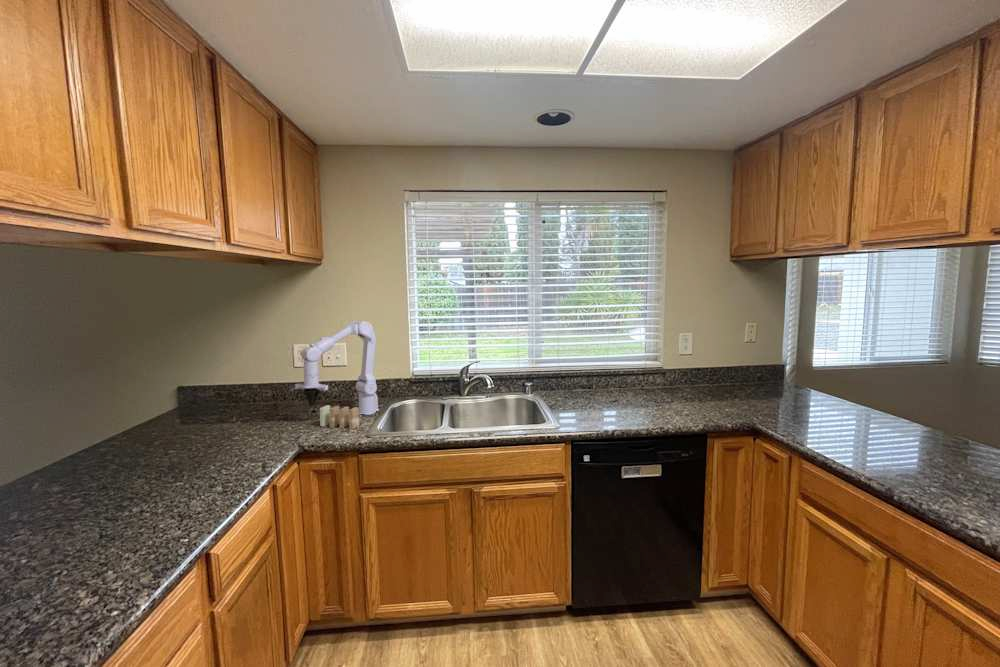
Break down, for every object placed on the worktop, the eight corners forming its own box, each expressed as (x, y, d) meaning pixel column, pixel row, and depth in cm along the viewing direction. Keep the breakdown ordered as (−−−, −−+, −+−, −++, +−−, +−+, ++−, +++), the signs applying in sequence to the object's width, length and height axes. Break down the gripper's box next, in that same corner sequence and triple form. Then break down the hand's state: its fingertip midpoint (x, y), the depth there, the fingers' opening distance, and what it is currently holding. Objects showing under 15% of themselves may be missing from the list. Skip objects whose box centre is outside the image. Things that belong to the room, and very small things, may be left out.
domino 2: (330, 427, 177) (329, 409, 176) (336, 423, 182) (336, 405, 181) (333, 427, 177) (332, 409, 176) (340, 423, 182) (339, 406, 181)
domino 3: (339, 428, 176) (339, 409, 176) (346, 424, 181) (345, 406, 180) (343, 428, 176) (342, 409, 175) (349, 424, 181) (349, 406, 180)
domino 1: (320, 426, 178) (319, 408, 177) (327, 423, 183) (326, 405, 182) (323, 426, 178) (323, 408, 177) (330, 423, 183) (330, 405, 182)
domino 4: (349, 428, 176) (348, 410, 175) (355, 425, 180) (355, 407, 180) (352, 429, 175) (352, 410, 174) (359, 425, 180) (358, 407, 179)
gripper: (289, 375, 177) (291, 407, 178) (320, 377, 174) (321, 409, 175) (300, 372, 184) (302, 402, 185) (330, 374, 181) (331, 404, 182)
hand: (312, 405), depth 181 cm, fingers closed
